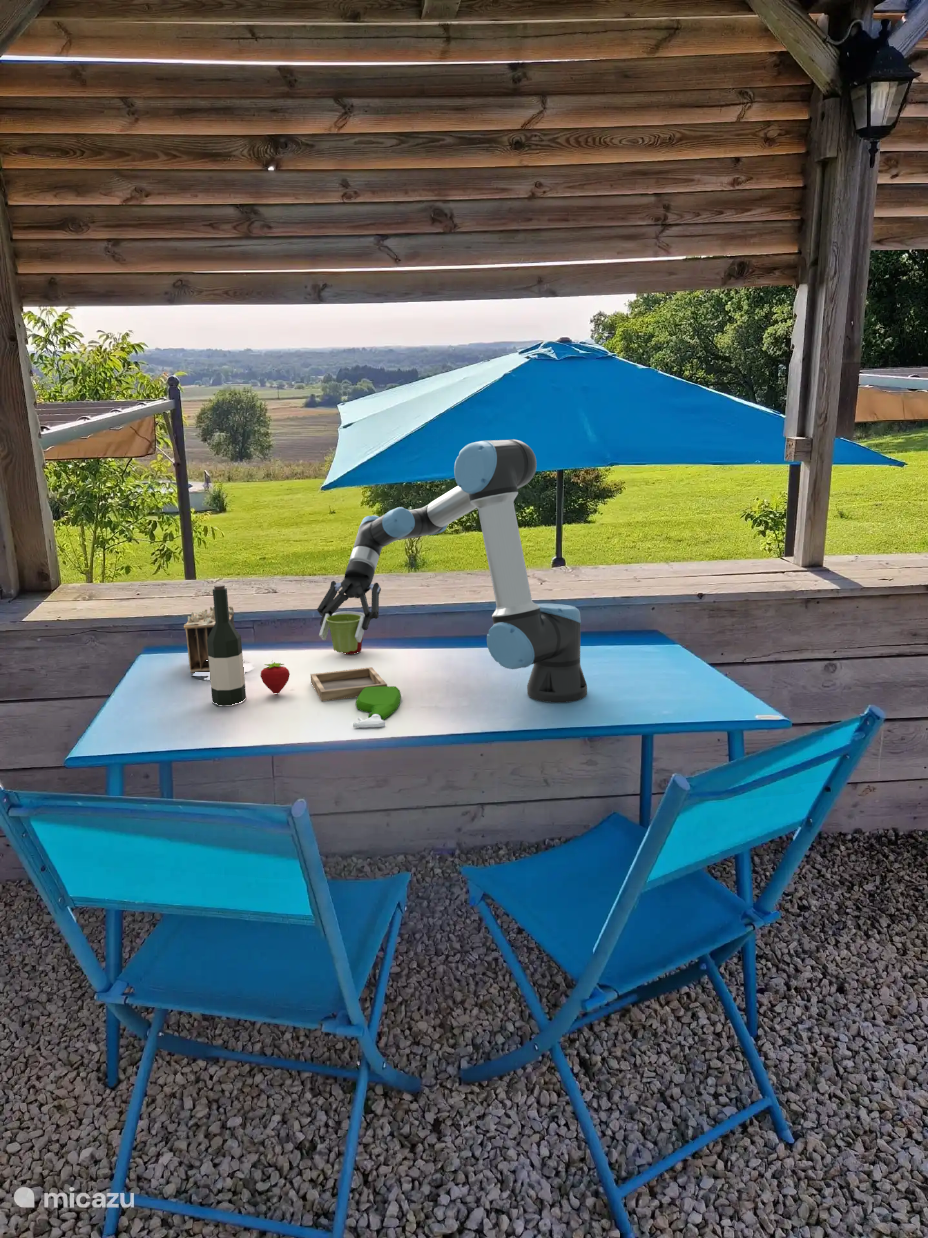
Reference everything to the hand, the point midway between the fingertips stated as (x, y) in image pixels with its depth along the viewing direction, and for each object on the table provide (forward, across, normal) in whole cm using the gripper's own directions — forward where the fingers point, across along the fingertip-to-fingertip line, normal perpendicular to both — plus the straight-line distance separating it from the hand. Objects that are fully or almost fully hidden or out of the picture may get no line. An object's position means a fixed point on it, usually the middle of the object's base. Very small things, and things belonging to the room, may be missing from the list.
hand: (339, 638), depth 229 cm
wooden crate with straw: (+2, +46, -19) cm, 50 cm away
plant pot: (+1, 0, -5) cm, 5 cm away
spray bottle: (+19, -15, -2) cm, 24 cm away
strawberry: (+15, +16, -6) cm, 22 cm away
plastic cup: (-16, +14, -37) cm, 42 cm away
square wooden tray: (+8, 0, -12) cm, 15 cm away
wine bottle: (+20, +25, 0) cm, 32 cm away
